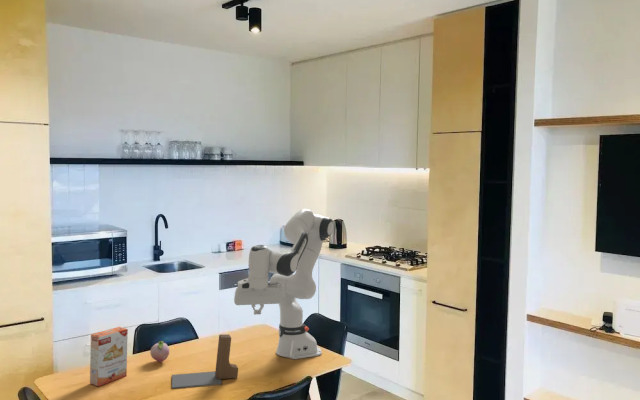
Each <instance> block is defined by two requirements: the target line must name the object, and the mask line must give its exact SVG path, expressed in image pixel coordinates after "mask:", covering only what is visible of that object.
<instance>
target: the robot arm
mask: <svg viewBox="0 0 640 400" xmlns="http://www.w3.org/2000/svg"><path fill="white" fill-rule="evenodd" d="M334 228H335V223H334V221H333V219H332V218H331V217H328V216H323V215H320V214H318V213H317V214H316V213H314V212H313V211H312V210H310V209H307V208H301V209H300V210H299V211H297V212H296V213H295V214H294V215H293V216H291V218H290V219H289V220H288V222H286V224H285V226H284V229H283V230H284V231H283V232H284V236H285V237H286V239H287V240H288V241H289V243H291V244H293V245H292V247H291V249H290V250H289V251H287V252H282V251H281V252H279V251H275V250H271V249H269V247H268V245H264V244H257V245H253V246H252V247H251V248H250V251H249V254H248V270H249V271H248V276H247V278H243V279H241V280H238V281H237V288H236V289H235V292H234V298H233V301H234V305H236V306H250V305H251V307H252V309H253V315H255V316H256V315H261V314H262V310H263V308H264V305H274V304H276V305H278V306H279V316H280V317H279V319H280V320H279V325H278V336H279V337H278V342H277V343H278V344H277V347H276V351H275V353H276V355H278V356H279V357H284V358H287V359H288V358H289V359H291V360H298V359H299V360H300V359H305V358H310V357H318V356H321V355H323V354H322V349H321V348H320V347H319V346H318V344H317V340H316V339H315V337H314V336H313V335H311V334H310V333H309V332H308V331H309V330H310V328H309V327H308V326H307V325H306V324H304V323H303V316H304V314H303V312H304V310H303V307H302V306H301V305H300V304H299V303H298V301H297V299H298V300H310V299H312V298H313V297H314V296H315V294H316V291H317V285H316V282H315V280H314V279H313V270H314V267H315V265H316V263H317V260H318V258H319V256H320V253H321V251H322V247H323V242H324V241H325V240H326V239H328V238H329V237H331V235H332V234H333V232H334ZM269 274H273V275H272V276H271V277H270V280H269ZM256 305H257V306H258V305H259V307H258V308H259V309H255V307H256Z"/></svg>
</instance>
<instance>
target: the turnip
mask: <svg viewBox="0 0 640 400" xmlns="http://www.w3.org/2000/svg"><path fill="white" fill-rule="evenodd" d="M169 355H170V348H169V346H168V344H167V343H166V342H164V341H162V340H159V341H158V342H157V343H155V344H154V345H152V346H151V347H150V356H151V358H152V359H153V360H155V361H156V362H159V363H162V362H164V361H165V360H167V358H168V357H169Z"/></svg>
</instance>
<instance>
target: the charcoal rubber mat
mask: <svg viewBox="0 0 640 400" xmlns="http://www.w3.org/2000/svg"><path fill="white" fill-rule="evenodd" d="M215 371H216V370H215ZM215 371H204V372H193V373H192V372H191V373H178V374H171V389H172V390H173V389H184V388H196V387H207V386H208V387H209V386H217V385H218V386H219V385H222V384H223V382H222V379H217V378H216V376H215Z"/></svg>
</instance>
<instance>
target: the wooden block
mask: <svg viewBox="0 0 640 400" xmlns="http://www.w3.org/2000/svg"><path fill="white" fill-rule="evenodd" d="M231 344H232V337H231V335H230V334H219V335H218V344H217V354H216V362H215V376H216V378H217V379H221V380H223V379H237V378H238V375H239V367H238V365H237V364H234V363H230V353H231Z"/></svg>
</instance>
